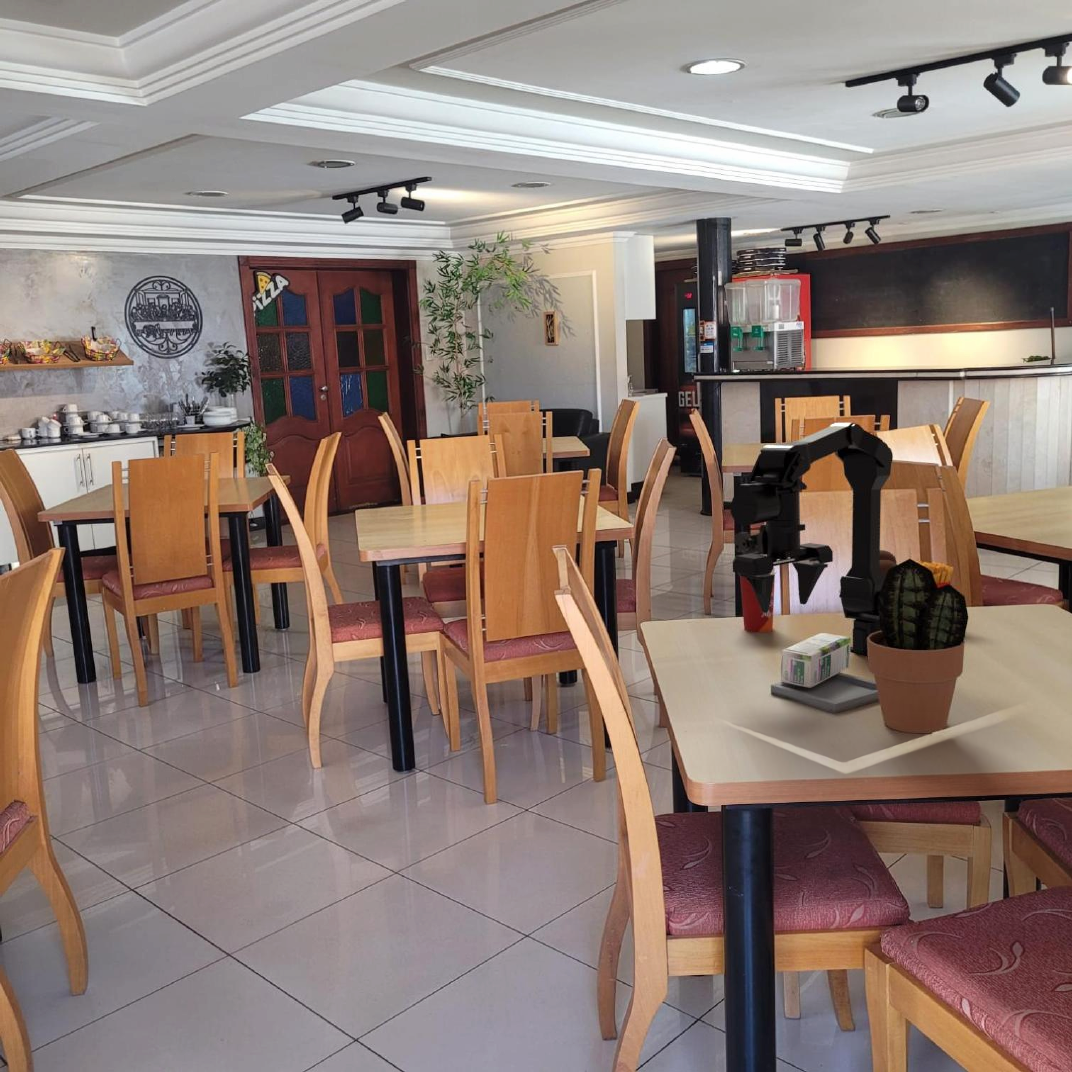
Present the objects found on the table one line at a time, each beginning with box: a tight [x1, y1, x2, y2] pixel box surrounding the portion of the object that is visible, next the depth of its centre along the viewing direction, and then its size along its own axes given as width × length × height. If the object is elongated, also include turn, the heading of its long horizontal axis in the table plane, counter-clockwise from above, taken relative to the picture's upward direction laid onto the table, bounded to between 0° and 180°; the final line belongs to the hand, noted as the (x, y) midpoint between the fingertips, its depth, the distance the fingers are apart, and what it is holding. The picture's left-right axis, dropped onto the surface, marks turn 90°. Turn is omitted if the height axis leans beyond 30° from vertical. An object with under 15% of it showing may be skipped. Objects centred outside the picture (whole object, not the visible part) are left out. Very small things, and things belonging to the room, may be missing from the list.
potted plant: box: [867, 558, 969, 734], centre depth 157 cm, size 14×14×25 cm
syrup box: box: [780, 632, 851, 688], centre depth 181 cm, size 6×6×14 cm
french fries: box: [914, 560, 954, 588], centre depth 217 cm, size 9×4×13 cm, turn 55°
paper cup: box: [739, 567, 777, 633], centre depth 218 cm, size 8×8×14 cm
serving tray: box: [770, 672, 880, 714], centre depth 175 cm, size 14×14×2 cm
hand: (784, 608), depth 182 cm, fingers open, 9 cm apart
